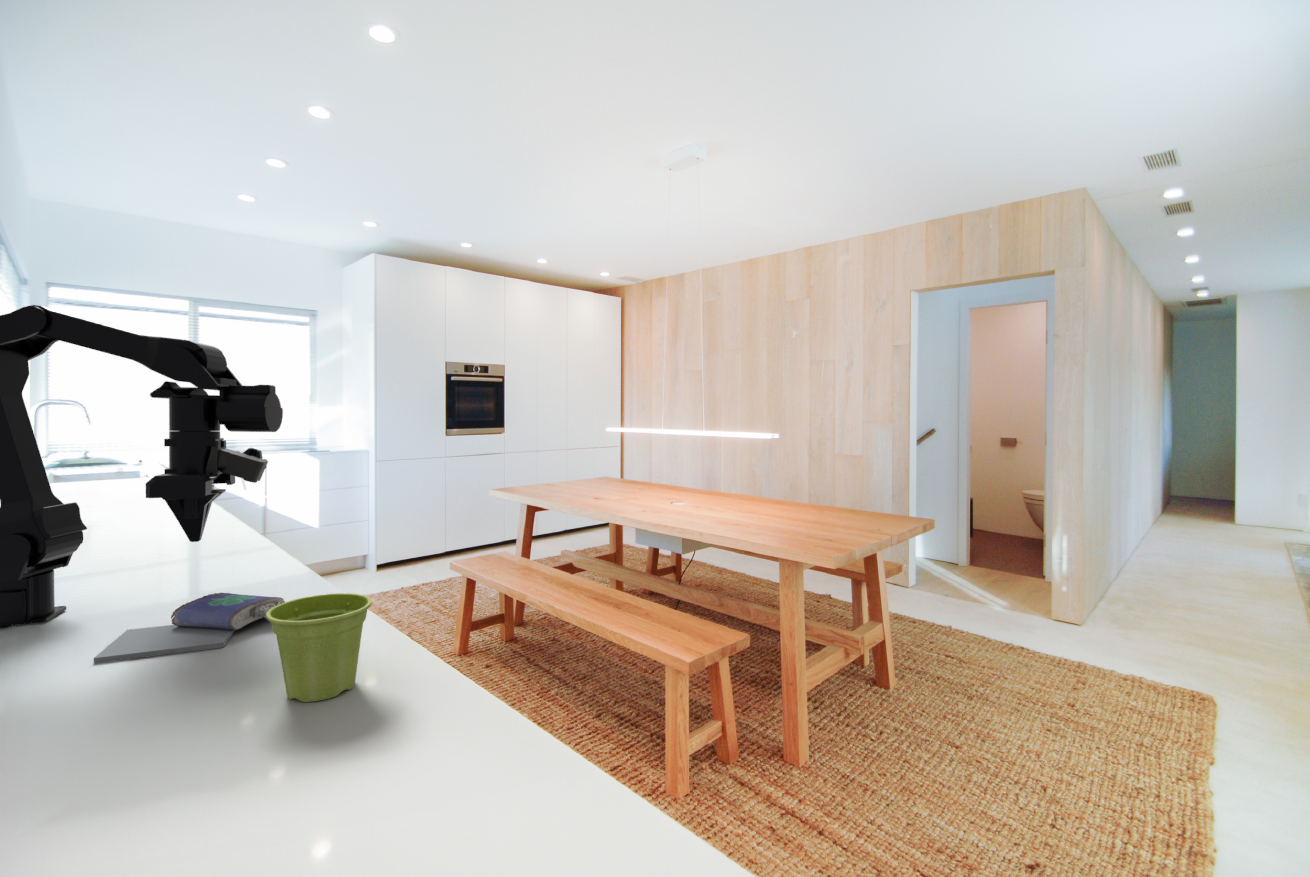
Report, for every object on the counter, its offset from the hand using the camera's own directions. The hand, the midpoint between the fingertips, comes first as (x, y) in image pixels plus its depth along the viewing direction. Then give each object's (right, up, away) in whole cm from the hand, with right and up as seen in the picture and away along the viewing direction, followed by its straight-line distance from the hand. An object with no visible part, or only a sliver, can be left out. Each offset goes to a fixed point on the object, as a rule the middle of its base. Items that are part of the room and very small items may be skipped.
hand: (195, 541), depth 84 cm
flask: (+4, -8, -4) cm, 10 cm away
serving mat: (+6, -11, -11) cm, 16 cm away
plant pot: (+31, -11, -24) cm, 41 cm away
